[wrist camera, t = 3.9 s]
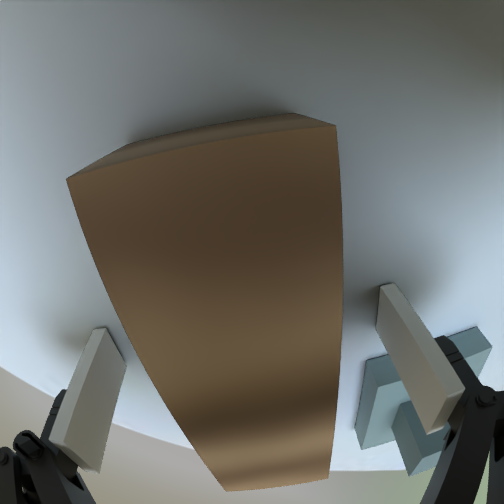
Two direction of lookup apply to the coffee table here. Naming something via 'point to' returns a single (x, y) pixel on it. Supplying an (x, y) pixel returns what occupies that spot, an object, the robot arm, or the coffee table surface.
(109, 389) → the robot arm
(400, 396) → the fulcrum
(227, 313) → the batten
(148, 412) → the coffee table surface
